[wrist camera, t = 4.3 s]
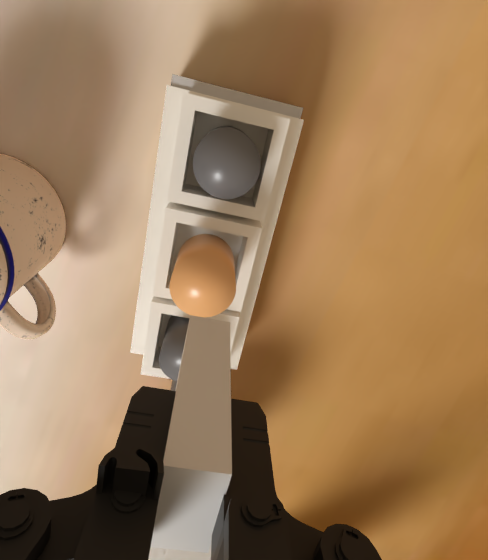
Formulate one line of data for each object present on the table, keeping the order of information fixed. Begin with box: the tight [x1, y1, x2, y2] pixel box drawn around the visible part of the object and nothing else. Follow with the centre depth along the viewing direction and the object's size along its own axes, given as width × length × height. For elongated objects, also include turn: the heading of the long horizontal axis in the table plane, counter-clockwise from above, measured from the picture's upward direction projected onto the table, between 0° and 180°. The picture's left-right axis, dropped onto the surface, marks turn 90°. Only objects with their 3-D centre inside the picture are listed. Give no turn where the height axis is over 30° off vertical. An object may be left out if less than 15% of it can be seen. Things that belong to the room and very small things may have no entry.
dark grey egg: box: [159, 315, 190, 381], centre depth 26 cm, size 3×3×4 cm
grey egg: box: [193, 126, 261, 199], centre depth 21 cm, size 3×3×4 cm
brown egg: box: [169, 234, 236, 318], centre depth 22 cm, size 3×3×4 cm
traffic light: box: [130, 74, 304, 391], centre depth 27 cm, size 8×24×6 cm, turn 167°
